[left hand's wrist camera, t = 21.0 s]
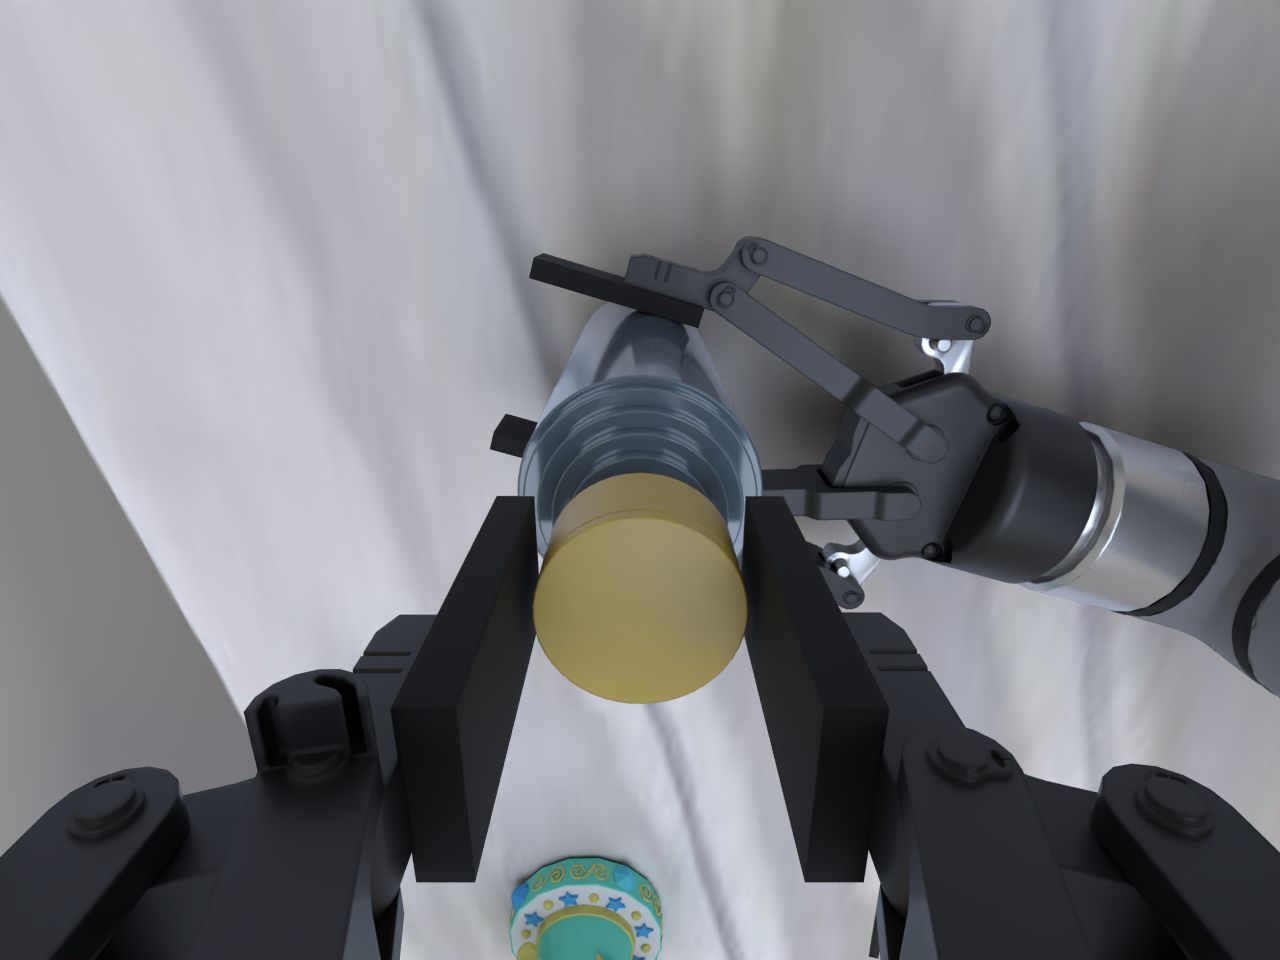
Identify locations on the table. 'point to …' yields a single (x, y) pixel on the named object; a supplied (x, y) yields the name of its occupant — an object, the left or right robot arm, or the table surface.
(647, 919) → the decorative hourglass
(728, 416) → the bottle
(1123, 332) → the table surface
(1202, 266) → the table surface
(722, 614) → the cap
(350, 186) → the table surface
